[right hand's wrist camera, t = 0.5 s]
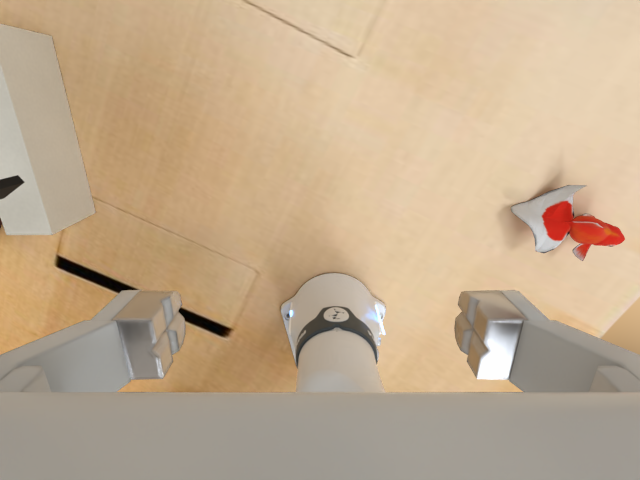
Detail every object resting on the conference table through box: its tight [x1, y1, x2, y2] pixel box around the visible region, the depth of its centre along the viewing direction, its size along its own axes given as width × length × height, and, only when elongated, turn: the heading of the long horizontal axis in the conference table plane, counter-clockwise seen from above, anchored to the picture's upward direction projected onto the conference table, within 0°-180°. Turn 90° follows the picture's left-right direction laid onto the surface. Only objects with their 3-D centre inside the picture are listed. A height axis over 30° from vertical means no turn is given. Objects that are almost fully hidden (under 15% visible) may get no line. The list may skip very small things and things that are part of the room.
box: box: [0, 24, 96, 235], centre depth 48 cm, size 25×6×10 cm, turn 0°
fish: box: [511, 185, 625, 261], centre depth 54 cm, size 11×16×10 cm
